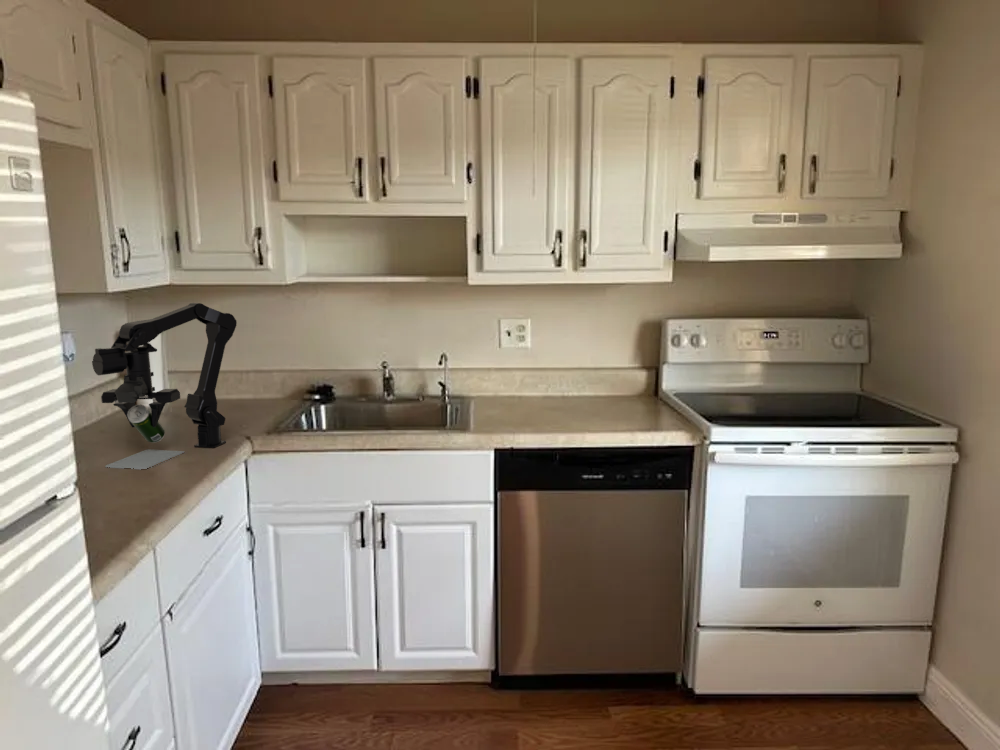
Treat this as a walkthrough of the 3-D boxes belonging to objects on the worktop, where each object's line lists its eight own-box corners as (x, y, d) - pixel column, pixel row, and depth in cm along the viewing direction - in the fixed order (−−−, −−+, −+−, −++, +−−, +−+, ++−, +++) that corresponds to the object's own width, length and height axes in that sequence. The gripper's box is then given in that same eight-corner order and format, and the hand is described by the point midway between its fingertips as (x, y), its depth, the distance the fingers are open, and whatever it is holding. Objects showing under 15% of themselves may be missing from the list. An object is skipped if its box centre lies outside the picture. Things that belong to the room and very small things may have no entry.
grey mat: (147, 451, 198) (147, 449, 198) (184, 453, 196) (184, 451, 196) (105, 467, 182) (105, 465, 182) (146, 469, 180) (145, 467, 180)
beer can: (169, 434, 194) (151, 411, 184) (152, 447, 192) (133, 424, 182) (159, 423, 196) (140, 400, 186) (142, 436, 194) (122, 412, 184)
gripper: (85, 375, 177) (92, 434, 180) (158, 375, 177) (163, 434, 179) (110, 368, 188) (116, 424, 191) (178, 368, 188) (183, 424, 190)
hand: (144, 427), depth 188 cm, fingers closed on beer can, 5 cm apart
